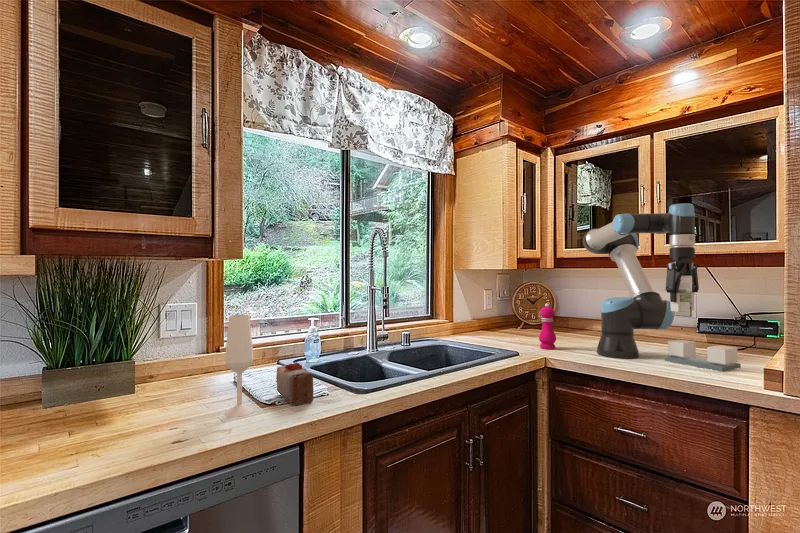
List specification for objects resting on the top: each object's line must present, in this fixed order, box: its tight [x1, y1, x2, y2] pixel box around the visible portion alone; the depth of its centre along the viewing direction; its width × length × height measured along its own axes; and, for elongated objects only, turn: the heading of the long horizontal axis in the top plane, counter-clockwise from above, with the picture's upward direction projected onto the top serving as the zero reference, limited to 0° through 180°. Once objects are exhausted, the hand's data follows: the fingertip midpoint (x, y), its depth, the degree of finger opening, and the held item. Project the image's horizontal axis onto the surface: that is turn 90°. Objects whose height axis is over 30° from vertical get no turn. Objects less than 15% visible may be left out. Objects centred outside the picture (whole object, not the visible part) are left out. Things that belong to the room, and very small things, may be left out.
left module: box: [667, 339, 697, 357], centre depth 157 cm, size 6×8×5 cm
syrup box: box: [673, 275, 693, 318], centre depth 147 cm, size 6×6×14 cm
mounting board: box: [664, 355, 741, 373], centre depth 151 cm, size 19×12×2 cm, turn 27°
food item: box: [275, 362, 314, 406], centre depth 113 cm, size 14×8×10 cm, turn 35°
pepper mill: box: [538, 302, 557, 351], centre depth 182 cm, size 7×7×20 cm
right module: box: [706, 344, 739, 364], centre depth 145 cm, size 6×8×5 cm
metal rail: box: [670, 355, 736, 366], centre depth 151 cm, size 19×5×1 cm, turn 27°
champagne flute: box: [224, 314, 255, 418], centre depth 102 cm, size 7×7×24 cm
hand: (682, 310), depth 147 cm, fingers closed on syrup box, 7 cm apart
